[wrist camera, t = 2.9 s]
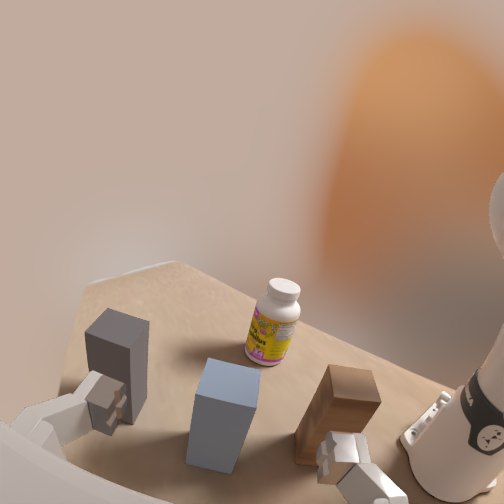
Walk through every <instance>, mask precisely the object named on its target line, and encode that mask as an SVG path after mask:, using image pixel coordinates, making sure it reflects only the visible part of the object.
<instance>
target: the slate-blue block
mask: <svg viewBox="0 0 504 504" xmlns="http://www.w3.org/2000/svg"><path fill="white" fill-rule="evenodd" d="M260 374H261V370H259V369H254V368H250V367H245V366H241V365H237V364H232V363H228V362H224V361H220V360H216V359H212V358H208V359H207V362H206V365H205V368H204V371H203V374H202V377H201V379H200V382H199V385H198V388H197V391H196V394H195V401H194V407H193V413H192V420H191V426H190V433H189V440H188V447H187V454H186V461H185V464H189V465H193V466H197V467H201V468H205V469H209V470H213V471H218V472H222V473H227V474H232V471H233V469H234V466H235V464H236V461H237V459H238V456H239V453H240V451H241V448H242V446H243V443H244V440H245V438H246V435H247V433H248V430H249V427H250V425H251V422H252V419H253V417H254V414H255V411H256V408H257V400H258V392H259V383H260Z"/></svg>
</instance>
